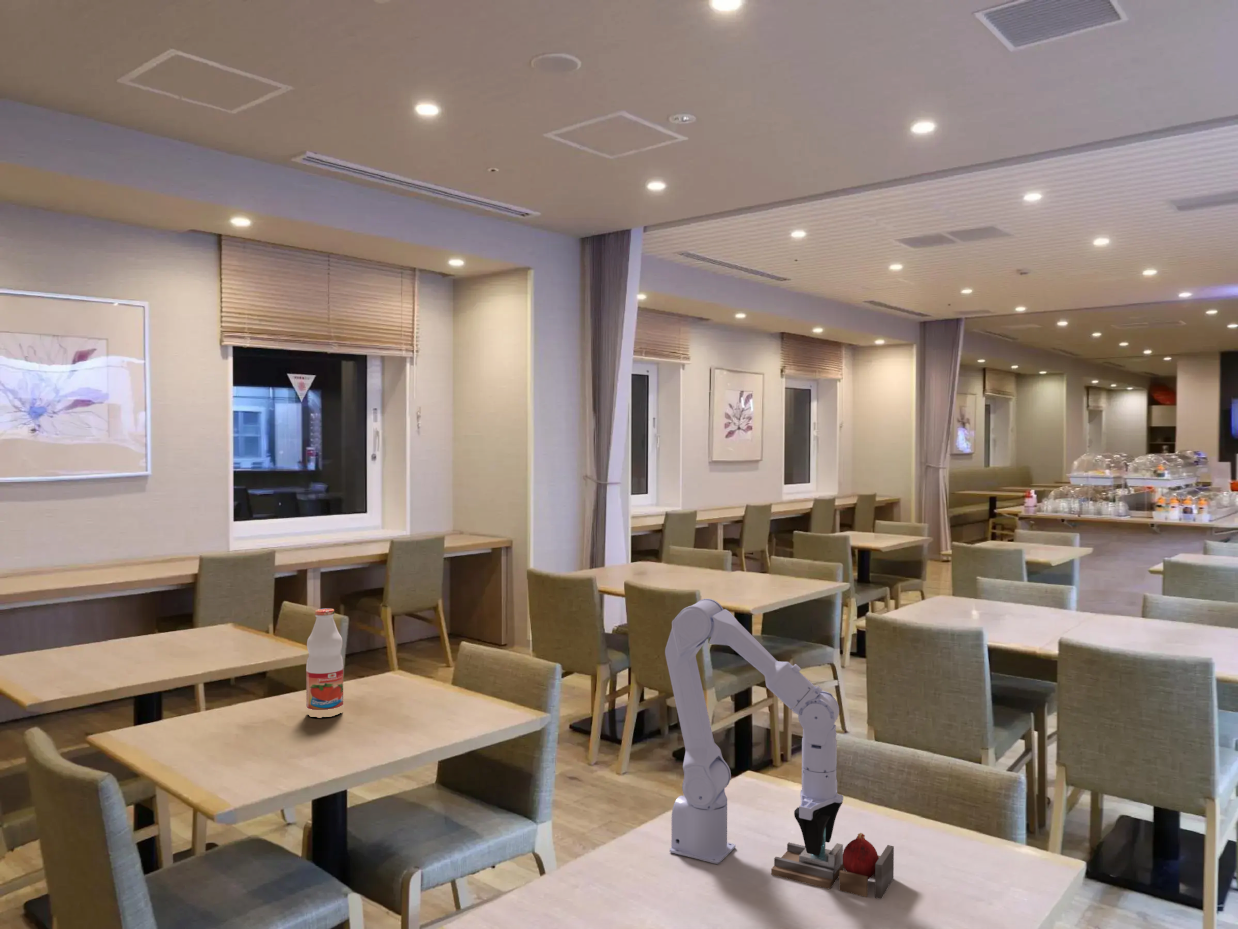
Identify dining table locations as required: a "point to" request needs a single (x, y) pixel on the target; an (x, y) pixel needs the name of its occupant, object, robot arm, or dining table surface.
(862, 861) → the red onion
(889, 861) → the frame
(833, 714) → the robot arm
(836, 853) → the ram
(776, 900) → the dining table surface
